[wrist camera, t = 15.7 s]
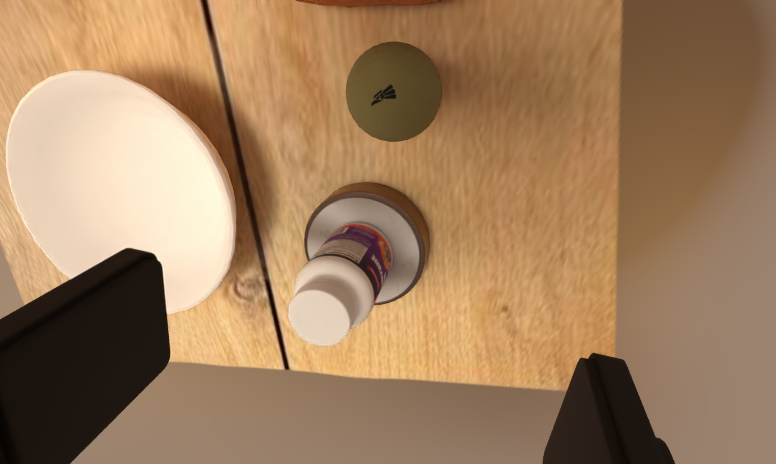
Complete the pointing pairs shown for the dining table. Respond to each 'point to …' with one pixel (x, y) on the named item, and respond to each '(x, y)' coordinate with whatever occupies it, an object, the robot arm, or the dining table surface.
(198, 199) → the bowl
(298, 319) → the pill bottle
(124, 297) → the robot arm
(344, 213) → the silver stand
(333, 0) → the bread
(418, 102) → the light bulb
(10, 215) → the dining table surface
